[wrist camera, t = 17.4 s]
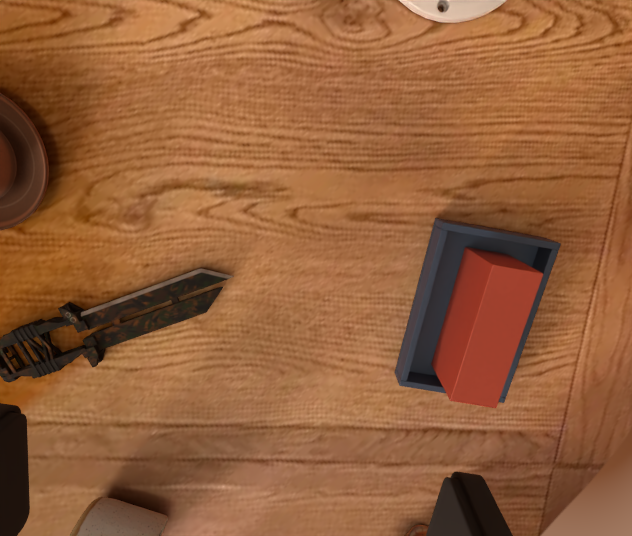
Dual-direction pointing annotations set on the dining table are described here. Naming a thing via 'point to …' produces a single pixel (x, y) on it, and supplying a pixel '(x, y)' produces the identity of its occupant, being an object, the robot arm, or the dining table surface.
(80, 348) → the knife
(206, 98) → the dining table surface
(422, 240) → the dining table surface
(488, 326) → the bar
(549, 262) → the tray
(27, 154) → the cup and saucer
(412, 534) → the tin
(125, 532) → the ceramic mug
